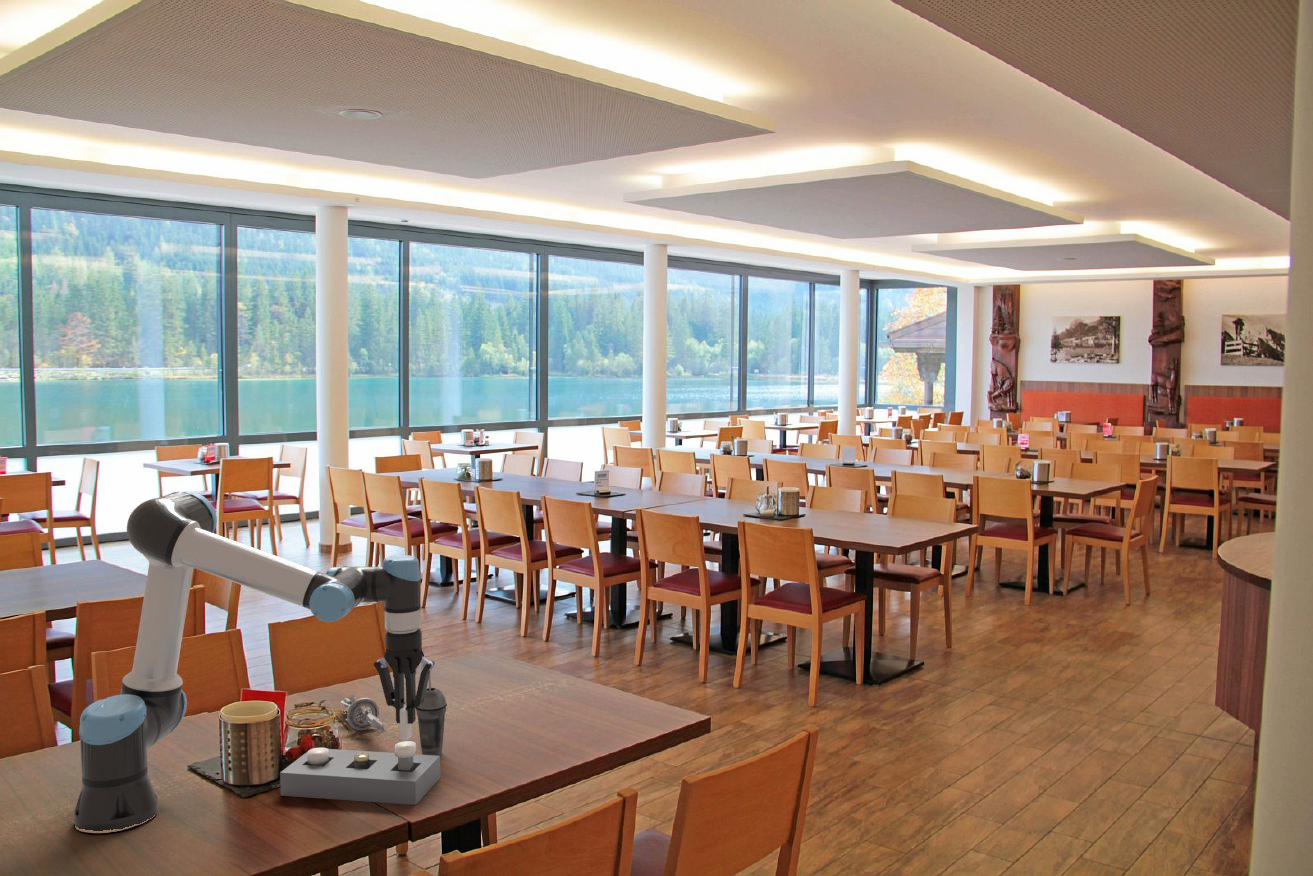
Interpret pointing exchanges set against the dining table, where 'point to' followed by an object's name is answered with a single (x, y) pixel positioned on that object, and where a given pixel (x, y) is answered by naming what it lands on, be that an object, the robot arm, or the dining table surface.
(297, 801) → the dining table surface
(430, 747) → the beverage cup
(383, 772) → the console
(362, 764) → the pot knob
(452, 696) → the dining table surface
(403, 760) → the right knob
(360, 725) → the spaceship
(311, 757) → the left knob
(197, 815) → the dining table surface
